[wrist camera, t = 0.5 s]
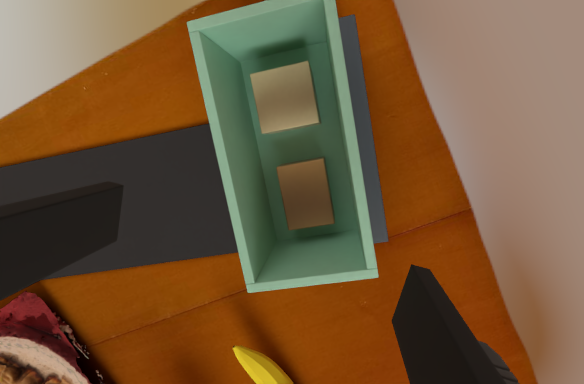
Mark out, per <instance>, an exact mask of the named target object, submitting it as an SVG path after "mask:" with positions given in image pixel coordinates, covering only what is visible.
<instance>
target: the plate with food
mask: <svg viewBox="0 0 584 384" xmlns="http://www.w3.org/2000/svg"><path fill="white" fill-rule="evenodd" d="M50 309H51V308H50ZM50 309H49V308H48V307H47V305H46V303H45V302H44V301H42V299H41V298H39V297H37V295H36V294H34V293H27V291H25V292H24V293H22V294H21V295H19V296H18V297H17V298H15V299H14V300H12V301H11V302H10V303H9V304H7V305H6V306H5V307H3V308H2V309H0V311H1V312H0V384H92V383H90V382H89V379H88V378H87V377H86V375H84V374H83V373H82V372H81V369H80V368H79V367H78V365H77V362H76V358H80V357H79V355H78V353H77V352H76V350H75V349H74V348H76V349H77V350H78V351H79V352H81V353H82V354H84V356H85V357H86V358H87V359H89V357H88V356H86V355H88V354H89V353H88V352H87V353H86V354H85V353H84V351H85V350H84V351H83V350H82V346H83V345H82V346H80V344H78V343H76V342H77V341H76V342H75V338H74V334H73V333H72V331H73V330H72V329H71V328H69V325H67V324H66V323H65V322H62V321H61V318H60V317H57V316H55V315H56V314H57V313H56V312H54V313H52V312H51V310H50ZM85 346H86V345H85ZM85 349H86V347H85ZM96 373H97V376H99V377H100V379H102V378H103V376H102V375H100V374H98V373H99V371H97V370H96ZM100 379H99V382H100V383H101V384H105V383H104V382H102V380H103V379H102V380H100Z"/></svg>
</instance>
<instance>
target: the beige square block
mask: <svg viewBox="0 0 584 384" xmlns="http://www.w3.org/2000/svg"><path fill="white" fill-rule="evenodd" d="M250 78H251V83H252V88H253V93H254V98H255V103H256V108H257V113H258V118H259V123H260V128H261V133H262V134H275V133H280V132H285V131H290V130H295V129H300V128H305V127H310V126H315V125H320V124H321V118H320V112H319V106H318V100H317V94H316V89H315V83H314V77H313V72H312V69H311V66H310V63H309V61H303V62H299V63H295V64H290V65H286V66H282V67H278V68H273V69H269V70H265V71H260V72H256V73H252V74H250Z"/></svg>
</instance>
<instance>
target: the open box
mask: <svg viewBox="0 0 584 384" xmlns="http://www.w3.org/2000/svg"><path fill="white" fill-rule="evenodd" d="M187 26H188V30H189V35H190V40H191V44H192V49H193V53H194V58H195V62H196V66H197V71H198V75H199V80H200V84H201V89H202V93H203V97H204V102H205V106H206V111H207V115H208V120H209V124H210V128H211V133H212V137H213V142H214V146H215V150H216V155H217V159H218V164H219V168H220V173H221V177H222V181H223V186H224V190H225V195H226V199H227V204H228V208H229V212H230V217H231V221H232V226H233V230H234V235H235V239H236V243H237V248H238V252H239V257H240V261H241V266H242V270H243V274H244V279H245V283H246V288H247V292H248V293H252V292H260V291H269V290H277V289H286V288H294V287H303V286H311V285H319V284H328V283H336V282H345V281H353V280H362V279H370V278H378V277H379V276H378V269H377V263H376V257H375V250H374V244H373V237H372V231H371V225H370V218H369V212H368V206H367V199H366V193H365V186H364V180H363V174H362V167H361V161H360V154H359V148H358V142H357V135H356V129H355V123H354V116H353V110H352V103H351V97H350V91H349V84H348V78H347V71H346V65H345V59H344V52H343V46H342V40H341V33H340V27H339V20H338V14H337V8H336V1H335V0H266V1H263V2H259V3H255V4H251V5H248V6H244V7H240V8H237V9H233V10H229V11H225V12H222V13H218V14H214V15H210V16H207V17H203V18H199V19H196V20H192V21H188V22H187ZM303 61H309V63H310V66H311V69H312V72H313V77H314V83H315V89H316V94H317V100H318V106H319V112H320V118H321V124H320V125H315V126H310V127H305V128H300V129H295V130H290V131H285V132H280V133H275V134H262V133H261V128H260V123H259V118H258V113H257V108H256V103H255V98H254V93H253V88H252V83H251V78H250V74H252V73H256V72H260V71H265V70H269V69H273V68H278V67H282V66H286V65H290V64H295V63H299V62H303ZM323 156H324V157H325V162H326V167H327V173H328V179H329V185H330V190H331V196H332V202H333V208H334V213H335V224H331V225H324V226H317V227H310V228H304V229H297V230H288V225H287V220H286V215H285V210H284V205H283V200H282V195H281V190H280V185H279V180H278V175H277V170H276V167H277V166H279V165H281V164H284V163H290V162H295V161H301V160H306V159H312V158H317V157H323Z"/></svg>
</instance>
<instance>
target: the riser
mask: <svg viewBox="0 0 584 384" xmlns="http://www.w3.org/2000/svg"><path fill="white" fill-rule="evenodd" d="M338 20H339V27H340V33H341V40H342V46H343V52H344V59H345V65H346V71H347V78H348V84H349V91H350V97H351V103H352V110H353V116H354V123H355V129H356V135H357V142H358V148H359V154H360V161H361V167H362V174H363V180H364V186H365V193H366V199H367V206H368V212H369V218H370V225H371V231H372V237H373V243H380V242H387V241H388V234H387V228H386V221H385V214H384V207H383V201H382V194H381V187H380V181H379V174H378V167H377V160H376V154H375V147H374V140H373V133H372V127H371V120H370V113H369V107H368V100H367V93H366V86H365V80H364V73H363V66H362V60H361V53H360V46H359V39H358V33H357V26H356V19H355V14H354V15H350V16H346V17H342V18H338Z"/></svg>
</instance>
